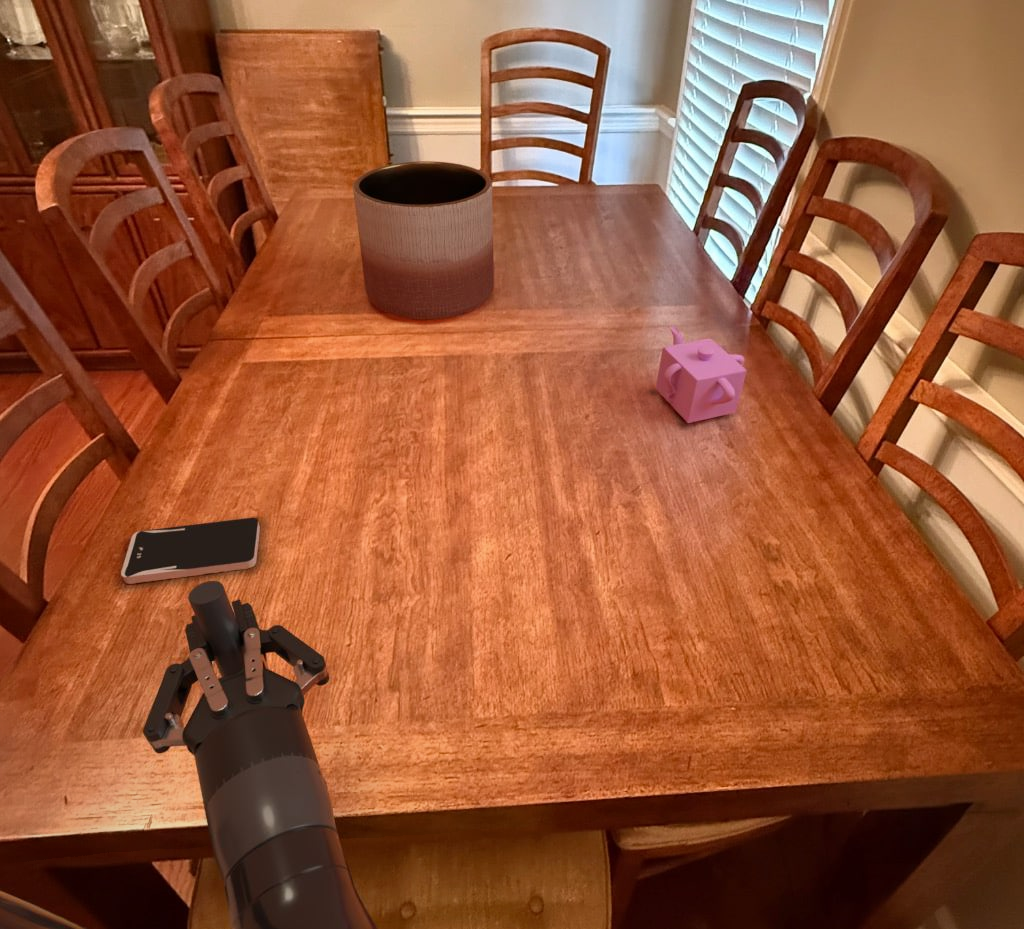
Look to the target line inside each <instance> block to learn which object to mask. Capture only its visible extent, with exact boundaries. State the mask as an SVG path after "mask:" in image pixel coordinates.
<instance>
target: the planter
mask: <svg viewBox="0 0 1024 929" xmlns="http://www.w3.org/2000/svg"><path fill="white" fill-rule="evenodd" d="M352 189H353V190H352V191H353V199H354V207H355V214H356V221H357V229H358V238H359V239H358V240H359V247H360V248H359V249H360V257H361V265H362V274H363V282H364V288H365V293H366V296H367V299H368V300H369V302H370V303H371V304H372V305H373V306H374V307H376V308H377V309H378V310H381V311H382V312H384V313H387V314H389V315H392V316H395V317H398V318H403V319H407V320H414V321H438V320H447V319H452V318H455V317H459V316H463V315H466V314H469V313H470V312H472V311H475V310H477V309H478V308H480V307H481V306H483V305H484V304H485V303H487V302H488V300H489V299H490V298H491V297H492V295H493V292H494V285H495V265H494V264H495V263H494V262H495V260H494V224H493V222H494V221H493V219H494V218H493V217H494V216H493V182H492V179H491V178H490V175H488V174H487V173H485V172H484V171H482V170H479V169H478V168H474V167H472V166H469V165H465V164H460V163H454V162H446V161H434V160H432V161H429V160H427V161H426V160H425V161H407V162H406V161H405V162H397V163H392V164H387V165H382V166H379V167H376V168H373V169H371V170H368V171H365V172H364V173H362V174H361V175H359V176H358V177H357V178H356V179H355V180H354V182H353V185H352Z"/></svg>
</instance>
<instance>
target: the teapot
mask: <svg viewBox="0 0 1024 929" xmlns="http://www.w3.org/2000/svg"><path fill="white" fill-rule="evenodd" d="M670 332H671V334H672V338H673V340H672V341H673V342H672V343H673V344H671V345H666V346H663V347H662V350H661V356H660V361H659V367H658V373H657V379H656V385H655V389H656V391H658V393H659V394H660V395H661V396H662V397H663V398H664V399H665V401H666V402H668V403H669V404H670V406H671V407H672V408H673V409H674V410H675V411H676V412H677V413H678V414H679V415H680V416H681V418H683V420H684V421H685V422H686V424H690V423H696V422H700V421H703V420H708V419H713V418H717V417H722V416H727V415H731V414H734V413H737V410H738V406H739V402H740V399H741V395H742V391H743V387H744V383H745V379H746V376H747V372H748V371H747V369H746V368H745V367H744V364H745V361H746V360H745V357H744V356H743V355H741V354H736V353H735V354H733V353H732V354H729V353H728V352H727V351H726V350H725V349H723V347H721V346H720V345H719V344H718V343H717V342H715V341H714V340H713V339H712V338H710V337H708V338H704V339H699V340H693V341H687V342H684V339H683V336H682V333H681V331H680V330H679V329H678V328H677V327H675V326H670Z"/></svg>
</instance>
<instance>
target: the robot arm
mask: <svg viewBox="0 0 1024 929" xmlns="http://www.w3.org/2000/svg"><path fill="white" fill-rule="evenodd" d="M230 604H231V607H232V610H233V612H234V615H235V617H236V620H237V623H238V625H239V631H240V634H241V636H242V639H243V641H244V647H245V652H244V661H245V668H244V669H242V670H240V671H239V672H237V673H236V674H234V675H231V676H226V677H221V676H220V677H219V678H218V676H217V673H216V671H215V669H214V665H213V662H215V660H214V657H213V655H212V653H211V650H210V648H209V646H208V643H207V641H206V639H205V637H204V635H203V632H202V630H201V628H200V625H199V623H198V621H197V618H196V616H195V614H194V615H191V616H190V617H191V623H188V624H186V626H185V629H184V631H185V635H186V636H185V637H186V641H187V645H188V651H189V654H188V657H187V658H186V659H185V660H184V661H182V662H181V663H178V662H176V663H175V662H174V663H172V664H170V665H169V666H168V667H167V668H166V670H165V672H164V675H163V677H162V680H161V682H160V685H159V687H158V690H157V693H156V695H155V698H154V700H153V703H152V706H151V708H150V710H149V713H148V715H147V718H146V721H145V723H144V726H143V728H142V734H143V735H144V737H145V739H146V741H147V743H148V744H149V745H150V747H151V748H152V750H153V751H154V752H155V753H156V754H158V755H159V754H164V753H166V752H167V751H169V750H170V748H171V747H184V746H185V747H186V748H187V751H188V752H189V753H190V754H192V755H193V756H194V761H195V766H196V767H195V768H196V772H197V776H198V782H199V787H200V792H201V797H202V802H203V808H204V813H205V818H206V824H207V829H208V834H209V839H210V844H211V848H212V852H213V856H214V860H215V863H216V866H217V868H218V871H219V873H220V876H221V880H222V883H223V886H224V891H225V896H226V901H227V907H228V912H229V917H230V922H231V926H232V929H379V927H378V925H377V924H376V922H375V921H374V920H373V917H372V916H371V915H370V912H369V911H368V909H367V908H366V906H365V905H364V903H363V901H362V899H361V897H360V895H359V893H358V890H357V888H356V886H355V883H354V879H353V877H352V874H351V870H350V867H349V864H348V861H347V858H346V855H345V851H344V848H343V846H342V843H341V840H340V837H339V833H338V830H337V826H336V821H335V816H334V808H333V803H332V800H331V796H330V793H329V789H328V783H327V781H326V779H325V777H324V774H323V772H322V769H321V766H320V764H319V760H318V757H317V754H316V750H315V748H314V745H313V742H312V740H311V736H310V733H309V730H308V727H307V724H306V721H305V718H304V715H303V712H304V711H303V710H304V706H305V696H306V695H307V693H309V691H310V690H311V689H313V688H314V687H315V686H318V687H319V686H320V687H321V686H325V685H326V684H328V683H329V681H330V677H331V676H330V673H329V671H328V670H329V669H328V666H327V663H326V660H325V657H324V656H323V655H322V654H321V653H319V652H318V651H317V650H315V649H314V648H312V647H311V646H310V645H308V644H307V643H306V642H304V641H303V640H301V639H300V638H299V637H298V636H296V635H295V634H293V633H292V632H291V631H289V629H287V628H285V627H284V626H282V625H280V624H275V625H272V626H271V627H270V628H269V629H262V628H260V627H259V623H258V621H257V620H258V619H257V617H256V614H255V611H254V609H253V606H252V605H251V604H250V603H249V602H245V603H242V601H241V599H240V598H238V599H236V600H234V601H231V603H230ZM270 653H275V654H276V656H278V657H280V658H281V659H282V660H283V661H285V662H286V663H287V664H289V665H290V666H291V667H292V668H293V673H294V675H295V677H296V678H295V681H293V680H292V679H290V678H288V677H286V676H283V675H281V674H279V673H277V672H275V671H273V670H270V669H269V665H268V655H267V654H270ZM196 682H199V685H200V687H201V689H202V691H203V692H202V695H201V696H200V698H199V700H198V701H197V703H196V705H195V707H194V709H193V711H192V713H191V714H190V717H189V719H188V721H187V722H186V724H184V721H183V719H182V716H183V713H184V710H185V707H186V704H187V701H188V698H189V696H190V693H191V690H192V687H193V685H194V684H196ZM0 929H88V928H87V927H84V926H82V925H80V924H78V923H76V922H74V921H71V920H69V919H68V918H64V917H63V916H60V915H58V914H56V913H54V912H51V911H49V910H47V909H46V908H43V907H40V906H38V905H36V904H34V903H31V902H29V901H27V900H24V899H21V898H19V897H17V896H14V895H12V894H10V893H7V892H5V891H2V890H0Z"/></svg>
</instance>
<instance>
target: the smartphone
mask: <svg viewBox="0 0 1024 929" xmlns="http://www.w3.org/2000/svg"><path fill="white" fill-rule="evenodd" d="M260 531H261V526H260V523H259V520H258V518H256V517H245V518H238V519H237V518H236V519H228V520H219V521H213V522H204V523H196V524H186V525H180V526H170V527H163V528H153V529H146V530H145V529H144V530H139V531H136V532H134V534H132V535H131V538H130V540H129V541H130V542H129V544H128V548H127V551H126V555H125V558H124V561H123V565H122V568H121V571H120V575H121V578H122V579H123V582H124V583H125V584H127V585H134V584H141V583H149V582H156V581H164V580H171V579H178V578H187V577H195V576H202V575H211V574H217V573H226V572H233V571H240V570H247V569H248V570H249V569H251V568H253V567H255V566H256V565H257V560H258V552H259V543H260V542H259V541H260V533H261V532H260Z"/></svg>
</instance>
